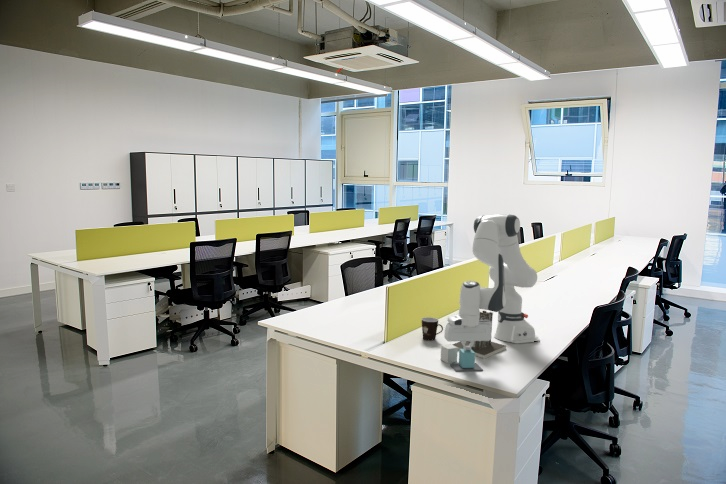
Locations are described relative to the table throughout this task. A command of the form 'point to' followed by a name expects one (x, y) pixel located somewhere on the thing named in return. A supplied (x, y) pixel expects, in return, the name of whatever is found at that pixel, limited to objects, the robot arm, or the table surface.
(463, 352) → the teal block
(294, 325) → the table surface
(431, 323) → the coffee mug
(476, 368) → the stand
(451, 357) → the light grey block
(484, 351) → the building model
